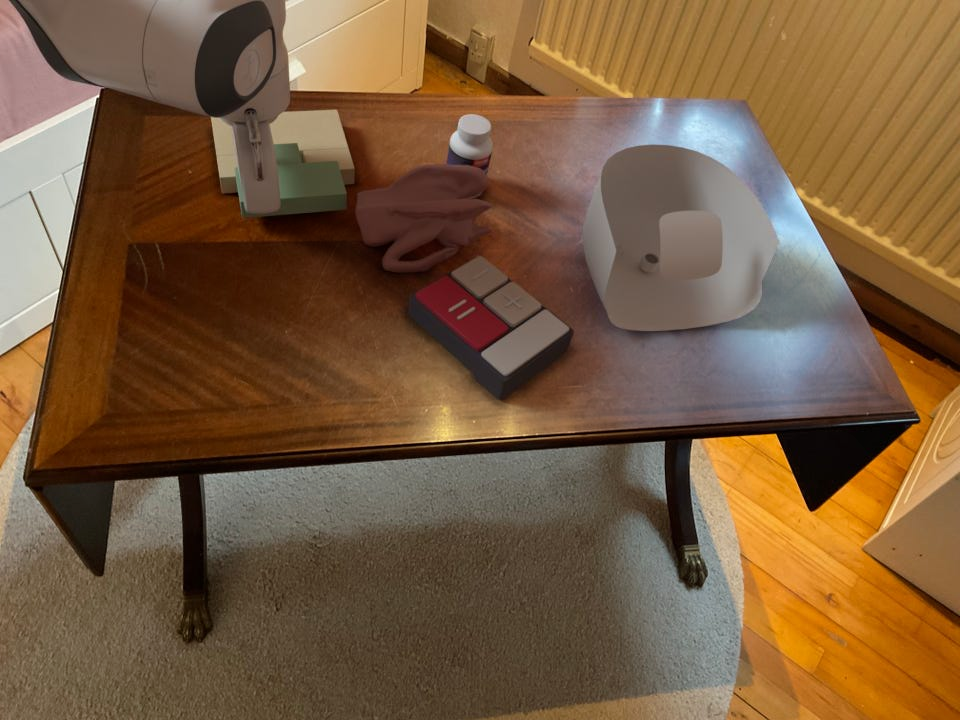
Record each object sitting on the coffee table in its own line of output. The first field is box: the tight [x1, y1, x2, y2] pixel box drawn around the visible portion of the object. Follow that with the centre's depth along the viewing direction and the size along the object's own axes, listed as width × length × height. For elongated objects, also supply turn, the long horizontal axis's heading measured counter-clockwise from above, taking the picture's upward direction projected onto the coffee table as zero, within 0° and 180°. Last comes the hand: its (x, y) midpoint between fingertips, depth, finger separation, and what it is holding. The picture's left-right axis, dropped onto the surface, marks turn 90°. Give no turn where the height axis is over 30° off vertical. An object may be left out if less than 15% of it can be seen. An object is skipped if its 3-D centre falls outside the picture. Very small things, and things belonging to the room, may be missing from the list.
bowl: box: [582, 143, 780, 332], centre depth 88 cm, size 20×19×12 cm
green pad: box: [235, 143, 348, 219], centre depth 88 cm, size 12×10×2 cm
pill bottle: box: [445, 113, 494, 199], centre depth 93 cm, size 5×5×10 cm
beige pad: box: [210, 109, 356, 194], centre depth 94 cm, size 16×12×2 cm
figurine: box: [354, 163, 494, 274], centre depth 87 cm, size 12×10×15 cm
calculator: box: [408, 255, 575, 401], centre depth 81 cm, size 11×4×15 cm
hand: (256, 188), depth 86 cm, fingers closed on green pad, 6 cm apart
